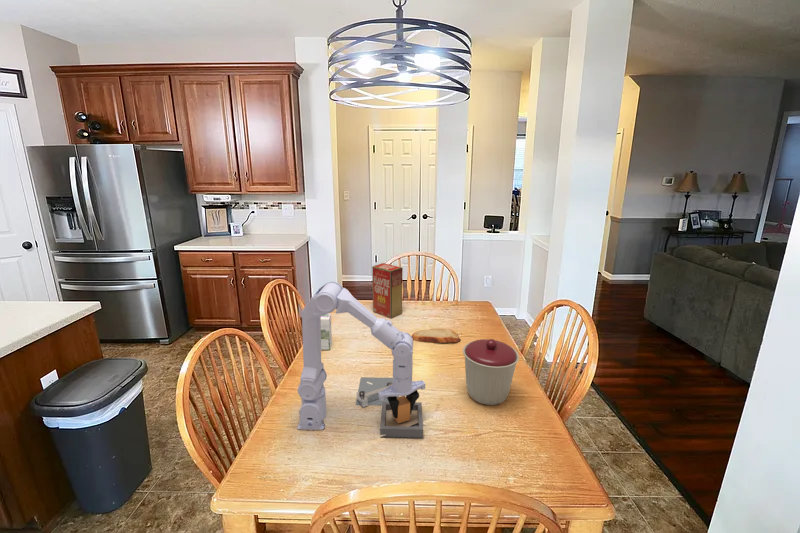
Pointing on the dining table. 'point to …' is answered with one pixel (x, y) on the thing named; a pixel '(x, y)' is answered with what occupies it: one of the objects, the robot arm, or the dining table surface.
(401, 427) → the tray
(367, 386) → the crank board
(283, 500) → the dining table surface
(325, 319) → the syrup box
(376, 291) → the food packaging
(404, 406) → the block
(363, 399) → the crank
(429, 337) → the slice of bread
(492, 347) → the canister
